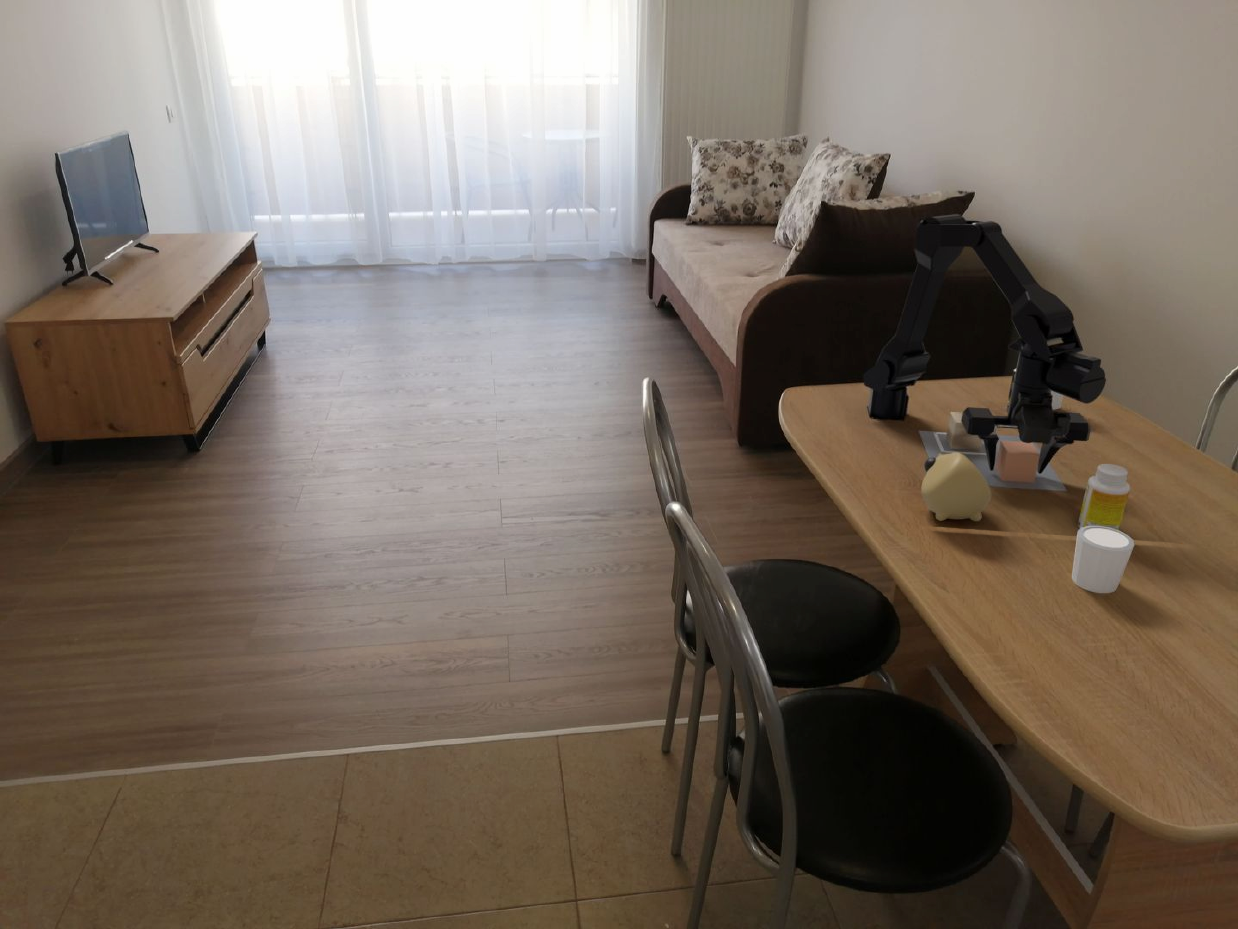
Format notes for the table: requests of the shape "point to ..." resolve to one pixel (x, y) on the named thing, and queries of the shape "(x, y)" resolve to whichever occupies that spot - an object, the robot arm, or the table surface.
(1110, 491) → the supplement bottle
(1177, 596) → the table surface
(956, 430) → the base block
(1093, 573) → the white cylinder
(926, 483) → the toy pig
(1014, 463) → the top block
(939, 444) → the build mat
